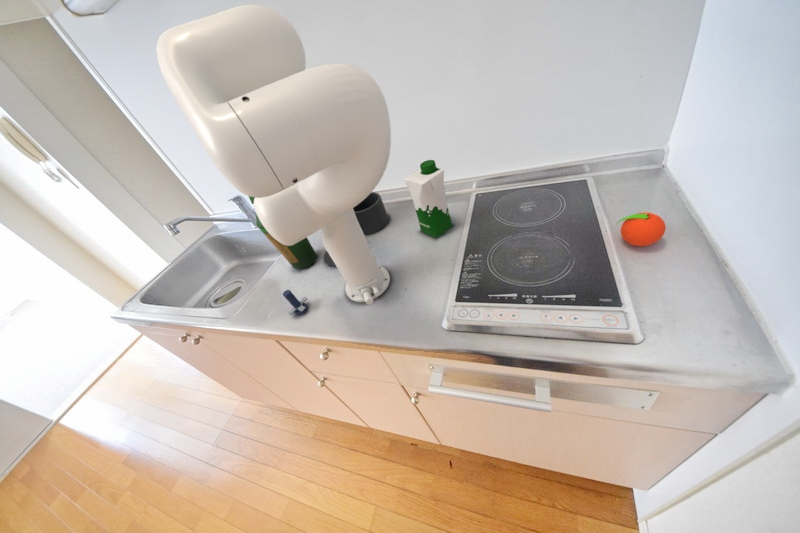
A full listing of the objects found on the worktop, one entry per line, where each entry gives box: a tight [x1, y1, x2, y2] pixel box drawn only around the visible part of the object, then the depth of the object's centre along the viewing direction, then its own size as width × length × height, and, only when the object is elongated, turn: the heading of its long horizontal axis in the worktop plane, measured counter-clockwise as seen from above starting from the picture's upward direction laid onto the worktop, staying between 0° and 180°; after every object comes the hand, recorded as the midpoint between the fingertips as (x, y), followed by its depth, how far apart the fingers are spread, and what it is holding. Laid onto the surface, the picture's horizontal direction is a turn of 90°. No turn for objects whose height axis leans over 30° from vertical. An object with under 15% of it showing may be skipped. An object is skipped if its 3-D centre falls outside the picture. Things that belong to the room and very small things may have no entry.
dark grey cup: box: [353, 191, 390, 236], centre depth 92 cm, size 12×12×9 cm
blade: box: [282, 289, 309, 316], centre depth 71 cm, size 6×6×8 cm
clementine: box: [617, 212, 666, 247], centre depth 56 cm, size 8×7×7 cm
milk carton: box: [404, 159, 453, 239], centre depth 76 cm, size 9×9×20 cm
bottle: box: [248, 196, 318, 271], centre depth 81 cm, size 11×11×28 cm
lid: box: [323, 250, 337, 267], centre depth 85 cm, size 13×13×6 cm
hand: (313, 203), depth 73 cm, fingers open, 9 cm apart
